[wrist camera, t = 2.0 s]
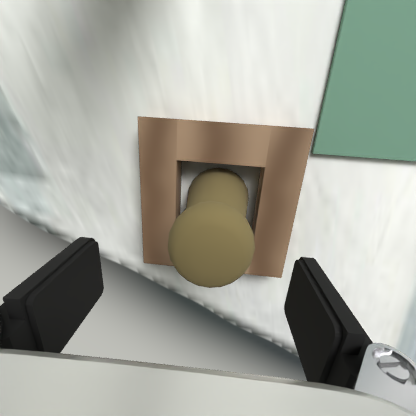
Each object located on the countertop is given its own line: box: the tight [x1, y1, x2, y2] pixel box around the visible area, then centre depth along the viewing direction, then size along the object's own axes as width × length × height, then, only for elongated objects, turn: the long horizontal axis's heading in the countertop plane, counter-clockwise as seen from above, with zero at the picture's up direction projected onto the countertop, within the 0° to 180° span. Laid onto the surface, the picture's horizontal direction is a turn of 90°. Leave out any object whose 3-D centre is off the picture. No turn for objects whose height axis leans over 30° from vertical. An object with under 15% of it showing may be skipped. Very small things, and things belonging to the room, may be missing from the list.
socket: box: [138, 116, 314, 278], centre depth 21 cm, size 14×14×2 cm
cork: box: [168, 168, 255, 288], centre depth 17 cm, size 6×6×11 cm
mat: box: [312, 0, 416, 161], centre depth 17 cm, size 12×12×1 cm
